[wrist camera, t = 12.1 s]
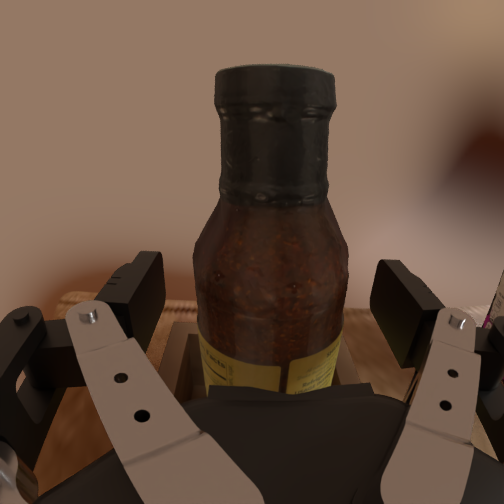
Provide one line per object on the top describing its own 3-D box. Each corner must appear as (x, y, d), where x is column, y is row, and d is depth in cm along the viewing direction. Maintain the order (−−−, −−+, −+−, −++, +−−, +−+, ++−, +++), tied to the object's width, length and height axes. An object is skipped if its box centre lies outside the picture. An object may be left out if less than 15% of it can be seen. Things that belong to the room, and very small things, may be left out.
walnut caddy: (338, 376, 25) (353, 318, 22) (378, 528, 12) (423, 489, 10) (167, 373, 24) (158, 313, 22) (131, 530, 12) (95, 493, 9)
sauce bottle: (303, 406, 21) (349, 89, 13) (320, 480, 15) (422, 78, 7) (210, 408, 20) (201, 79, 12) (207, 486, 15) (177, 51, 7)
